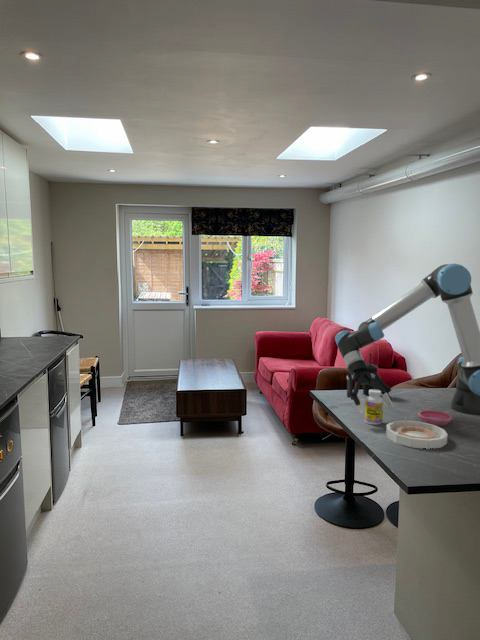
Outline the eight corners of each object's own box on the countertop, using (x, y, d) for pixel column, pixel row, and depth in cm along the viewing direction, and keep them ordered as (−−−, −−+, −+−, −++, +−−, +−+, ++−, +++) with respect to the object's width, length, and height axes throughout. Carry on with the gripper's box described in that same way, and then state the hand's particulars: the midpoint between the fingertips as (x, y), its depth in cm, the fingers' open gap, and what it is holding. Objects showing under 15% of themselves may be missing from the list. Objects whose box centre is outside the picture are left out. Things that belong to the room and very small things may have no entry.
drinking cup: (375, 392, 226) (377, 352, 224) (378, 396, 218) (380, 355, 216) (359, 391, 227) (361, 351, 224) (361, 396, 219) (363, 354, 217)
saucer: (418, 424, 181) (418, 417, 180) (417, 415, 192) (418, 408, 192) (453, 429, 176) (453, 421, 176) (450, 419, 188) (450, 411, 188)
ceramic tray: (439, 430, 174) (440, 423, 173) (451, 451, 154) (452, 442, 154) (384, 425, 178) (384, 418, 178) (388, 445, 159) (389, 436, 158)
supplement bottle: (363, 423, 180) (364, 391, 179) (365, 418, 186) (367, 387, 185) (381, 426, 178) (383, 393, 176) (382, 421, 184) (384, 389, 182)
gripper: (375, 367, 199) (398, 411, 186) (326, 371, 189) (346, 418, 177) (384, 357, 193) (408, 402, 181) (334, 361, 184) (355, 408, 172)
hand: (377, 410), depth 179 cm, fingers open, 12 cm apart
